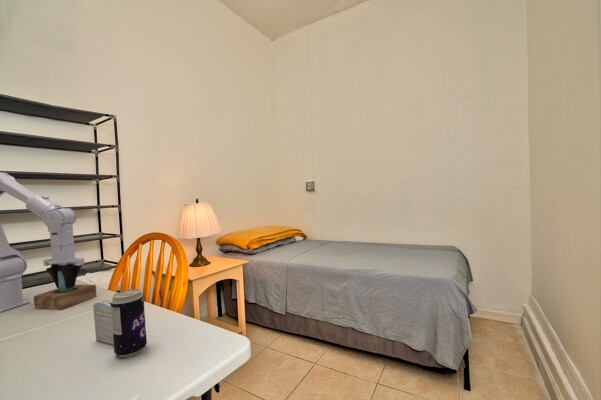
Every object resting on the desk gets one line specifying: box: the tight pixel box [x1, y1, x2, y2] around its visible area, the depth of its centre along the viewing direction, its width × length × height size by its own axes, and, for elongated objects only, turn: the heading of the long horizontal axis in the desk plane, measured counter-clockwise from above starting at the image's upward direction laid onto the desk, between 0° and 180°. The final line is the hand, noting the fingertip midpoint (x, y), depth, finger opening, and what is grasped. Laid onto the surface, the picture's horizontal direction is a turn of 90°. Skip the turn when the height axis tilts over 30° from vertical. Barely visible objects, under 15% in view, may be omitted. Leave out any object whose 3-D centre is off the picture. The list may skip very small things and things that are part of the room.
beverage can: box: [111, 288, 148, 358], centre depth 57 cm, size 6×6×12 cm
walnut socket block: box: [33, 284, 97, 311], centre depth 90 cm, size 11×11×4 cm
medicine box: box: [93, 296, 114, 346], centre depth 63 cm, size 8×4×9 cm, turn 65°
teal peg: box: [58, 271, 73, 293], centre depth 90 cm, size 4×4×8 cm
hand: (65, 287), depth 90 cm, fingers closed on teal peg, 3 cm apart
